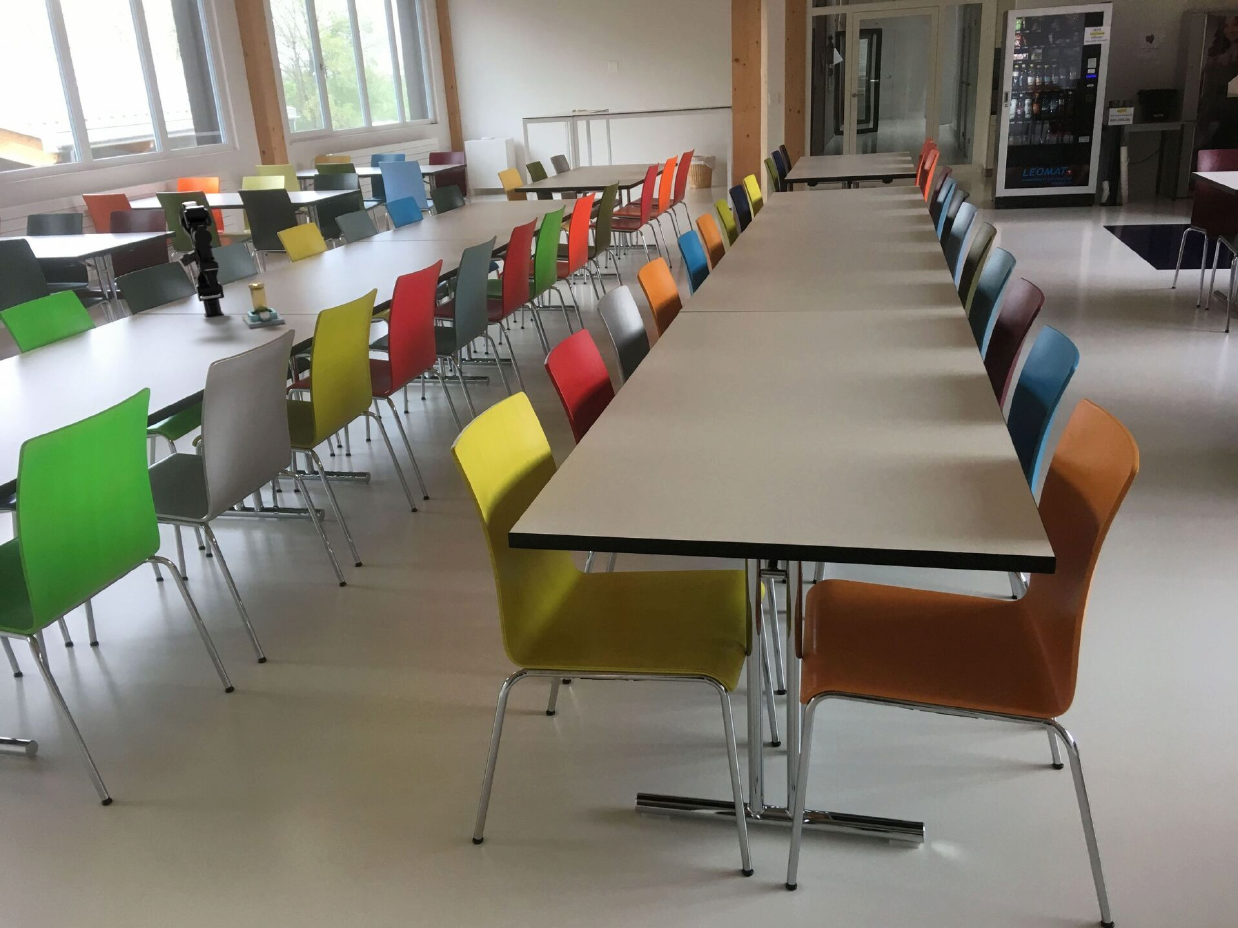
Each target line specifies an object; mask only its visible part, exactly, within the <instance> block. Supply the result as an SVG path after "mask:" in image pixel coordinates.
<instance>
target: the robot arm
mask: <svg viewBox="0 0 1238 928" xmlns="http://www.w3.org/2000/svg"><path fill="white" fill-rule="evenodd" d="M181 206H182V207H181V209H179V211H178V219H179V223H180V224H179V225H180V227H181V228H182V229H183V233H184V234H185V235H186V236H187V237H188V238H189V239H190V242H191V246H192V250H191V251H188V252H186V253H183V254H182V255H181V256H179V257H178V259H179V261H180V262H181V264H182V265H183V267H188V266H189V265H190V264H193V263H194V265H196V268H197V269H198V275H197V279H196V280H197V281H196V283H197V284H196V285H195V288H196V294H197V299H198V301H199V302H202V303H203V308H204V312H205V313H203V315H204V317H205V318H212V317H214V318H215V317H220V316H224V315H225V313H224V312H223V311H222V306H221V304H220V303H221V302H220V299H225V294H224V286H223V285H222V284H221V283H220V282H219V280H218V272H219V269H220V267H219V263H218V261H217V260H216V259H215V256H214V252H213V245H212V241H213V235H212V233H211V232H210V231H209V229H208V227H211V226H212V224H213V222H212V220H213V219H212V217H211V214H210V212H209V211H208V208H205V206H204V205H199V206H198V202H197V201H195V200H194V201H193V200H192V201H184V202H183V203H182V204H181Z"/></svg>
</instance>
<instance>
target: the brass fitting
mask: <svg viewBox="0 0 1238 928" xmlns="http://www.w3.org/2000/svg"><path fill="white" fill-rule="evenodd" d="M265 286H266V285H265V282H255V283H253V282H252V283H250V284H248V289H249V290H250V297H251V301H252V306H253V311H254V312H255V315H257V314H260V312H265V311H268V312H269V310H268V309H269V305H268V300H267V295H266V289H265Z"/></svg>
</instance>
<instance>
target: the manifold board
mask: <svg viewBox="0 0 1238 928" xmlns="http://www.w3.org/2000/svg"><path fill="white" fill-rule="evenodd" d="M268 310H269V312H268V311H265V312H260V314H257V315H255V312H254V310H251V311H246V314H245V315H241V317H242V320H243V322H244V323H245V325H247V327H248V328H249V329H256V328H264V327H270V326H275V325H282V324H285V321H286V320H285V319H284V317H282V316H281V314H279V313H278V311H277V310H275V309H274V308H272V307H268Z"/></svg>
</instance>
